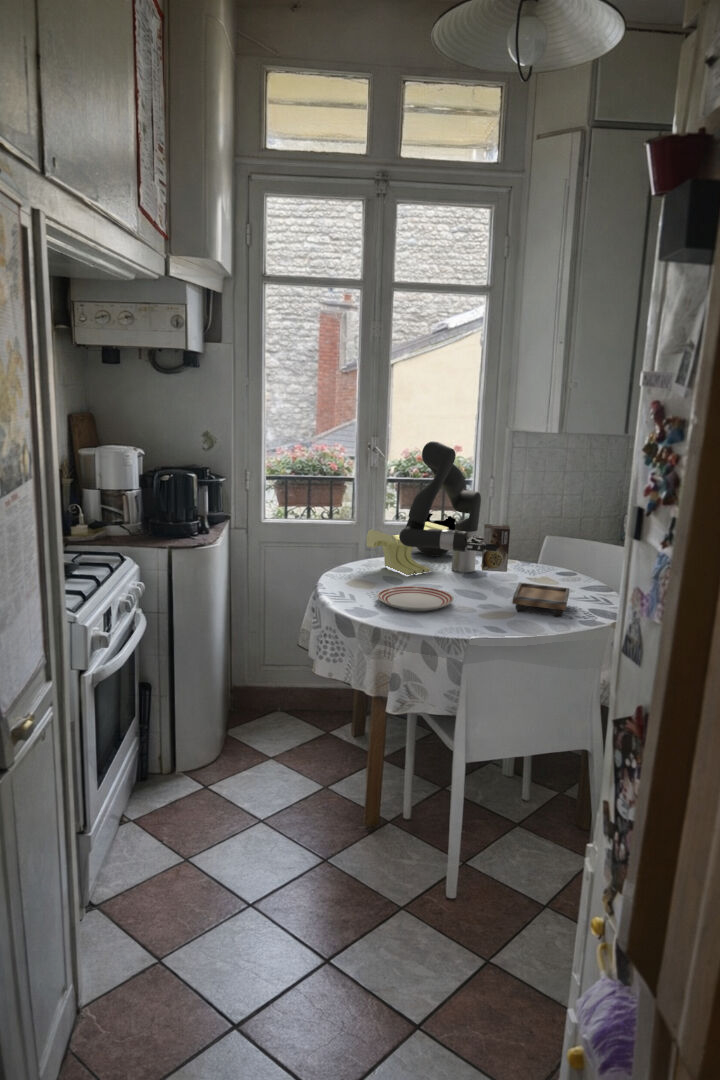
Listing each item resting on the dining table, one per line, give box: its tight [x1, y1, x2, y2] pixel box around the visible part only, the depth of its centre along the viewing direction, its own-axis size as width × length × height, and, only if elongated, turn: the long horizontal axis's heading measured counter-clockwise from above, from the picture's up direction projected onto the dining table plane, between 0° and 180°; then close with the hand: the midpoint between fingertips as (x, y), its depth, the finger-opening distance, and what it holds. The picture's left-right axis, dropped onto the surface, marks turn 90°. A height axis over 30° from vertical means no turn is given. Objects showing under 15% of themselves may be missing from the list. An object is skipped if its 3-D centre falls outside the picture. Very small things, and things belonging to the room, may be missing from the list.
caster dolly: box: [512, 582, 570, 617], centre depth 284 cm, size 18×18×6 cm
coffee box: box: [480, 523, 511, 573], centre depth 289 cm, size 9×6×16 cm
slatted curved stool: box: [366, 521, 449, 575], centre depth 326 cm, size 30×16×18 cm, turn 127°
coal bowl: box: [416, 512, 457, 557], centre depth 351 cm, size 20×20×19 cm
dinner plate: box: [376, 585, 455, 612], centre depth 285 cm, size 27×27×3 cm
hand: (498, 545), depth 288 cm, fingers closed on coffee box, 7 cm apart
